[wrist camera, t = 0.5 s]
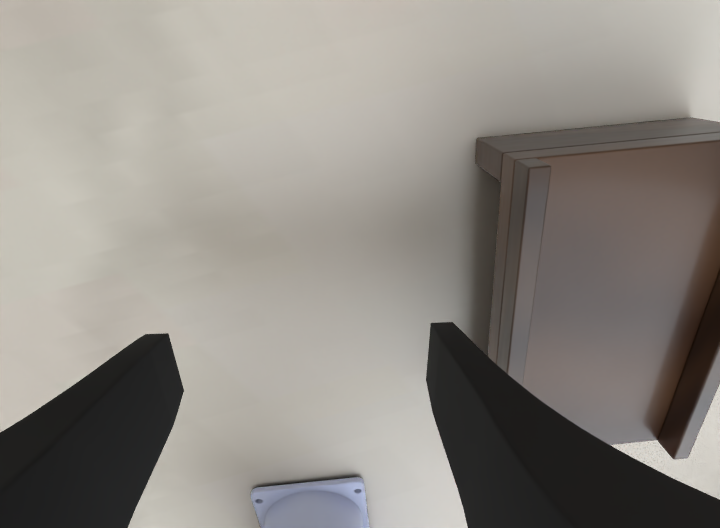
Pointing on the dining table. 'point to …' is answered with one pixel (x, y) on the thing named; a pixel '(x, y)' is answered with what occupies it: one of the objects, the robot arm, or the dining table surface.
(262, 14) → the dining table surface
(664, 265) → the shelf
